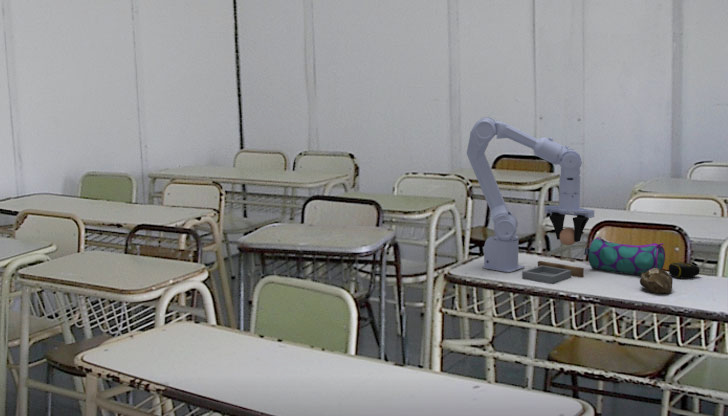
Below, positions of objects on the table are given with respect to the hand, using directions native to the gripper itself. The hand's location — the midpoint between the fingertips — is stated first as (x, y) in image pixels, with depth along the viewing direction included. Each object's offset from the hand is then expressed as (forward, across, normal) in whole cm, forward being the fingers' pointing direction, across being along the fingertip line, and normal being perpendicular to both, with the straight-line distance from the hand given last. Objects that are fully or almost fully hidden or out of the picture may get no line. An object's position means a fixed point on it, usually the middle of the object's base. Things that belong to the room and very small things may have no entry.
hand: (568, 240), depth 237 cm
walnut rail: (+9, 0, -4) cm, 10 cm away
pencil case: (+9, +13, +8) cm, 18 cm away
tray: (+9, 0, -11) cm, 14 cm away
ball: (-1, 0, 0) cm, 1 cm away
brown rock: (+9, +28, -6) cm, 30 cm away
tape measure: (+9, +28, +14) cm, 32 cm away
